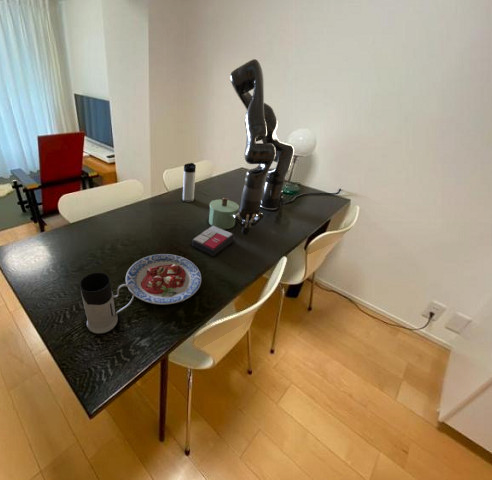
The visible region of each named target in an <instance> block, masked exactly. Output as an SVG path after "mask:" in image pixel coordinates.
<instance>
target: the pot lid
mask: <svg viewBox="0 0 492 480" xmlns="http://www.w3.org/2000/svg"><path fill="white" fill-rule="evenodd" d="M210 208H211V209H212V210H214V211H217V212H221V213H233V212H236V211H237V210H238V211H239V210H240V205H239V204H238V203H237V202H235V201H233V200H230V199H228V197H224V196H223V197H222V199H221V198H220V199H214V200H211V201H210V202H209V209H210ZM238 211H237V212H238Z"/></svg>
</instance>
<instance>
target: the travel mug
mask: <svg viewBox="0 0 492 480" xmlns="http://www.w3.org/2000/svg"><path fill="white" fill-rule="evenodd" d="M196 167H197V166H196V164H195V163H193V162H190V163H189V162H188V163H185V164H184V165H183V178H182V179H183V180H182V201H183V202H185V203H191V202H194V201H195V184H196V169H197V168H196Z"/></svg>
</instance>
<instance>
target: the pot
mask: <svg viewBox="0 0 492 480" xmlns="http://www.w3.org/2000/svg"><path fill="white" fill-rule="evenodd" d="M238 212H239V209H238V210H237V211H236V212H233V213H221V212H217V211H214V210H212V209H211V208H210V207H209V213H208V224H209V225H210V226H211V227H212V226H215V227H218V228H220V229H222V230H227V229H228V230H229V229H232V228H234V227H235V225H236V223H237V221H236V220H235V218H234V217H233V215H234V214H235V215H236V214H237V213H238Z"/></svg>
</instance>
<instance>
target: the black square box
mask: <svg viewBox="0 0 492 480" xmlns="http://www.w3.org/2000/svg"><path fill="white" fill-rule="evenodd" d="M234 237H235V236H234V233H232V232H229V231H227V230H226V229H220V228H218V227H215V226H212V225H211V226H210V227H209V228H207V229H205V230H204V231H202V232H201V233H200V234H199V235H197V236H196V237H194V238H193V239H192V240H191V246H192V247H194V248H195V249H197V250H199V251H202V252H204V253H205V254H208V255H210V256H212V257H215V256H216V255H217V254H219V252H221V251H222V250H223V249H224V248H225V247H227V246H229V245H230V244H231V243H233V242H234Z"/></svg>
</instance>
